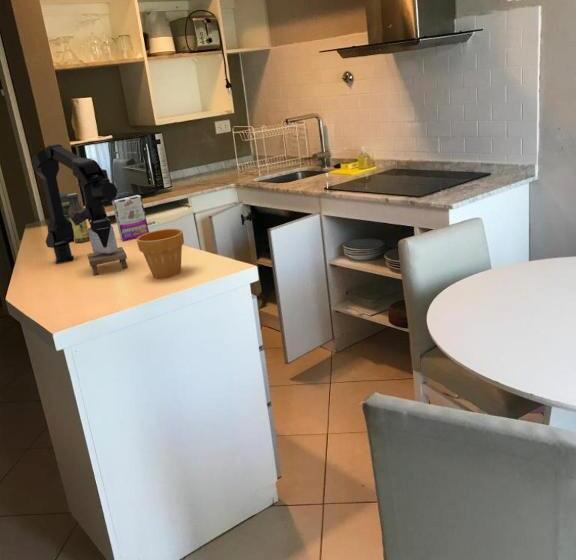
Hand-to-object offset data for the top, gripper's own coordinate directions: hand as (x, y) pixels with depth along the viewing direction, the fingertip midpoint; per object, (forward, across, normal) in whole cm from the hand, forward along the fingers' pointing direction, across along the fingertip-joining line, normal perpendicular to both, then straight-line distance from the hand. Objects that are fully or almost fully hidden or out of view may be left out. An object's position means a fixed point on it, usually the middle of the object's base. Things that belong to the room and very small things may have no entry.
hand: (103, 244), depth 213 cm
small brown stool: (+8, 0, 0) cm, 8 cm away
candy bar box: (+9, -40, +14) cm, 43 cm away
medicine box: (+3, 0, 0) cm, 3 cm away
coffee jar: (+9, -71, -10) cm, 72 cm away
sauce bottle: (+9, -53, -6) cm, 54 cm away
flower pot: (+8, +23, +16) cm, 29 cm away
